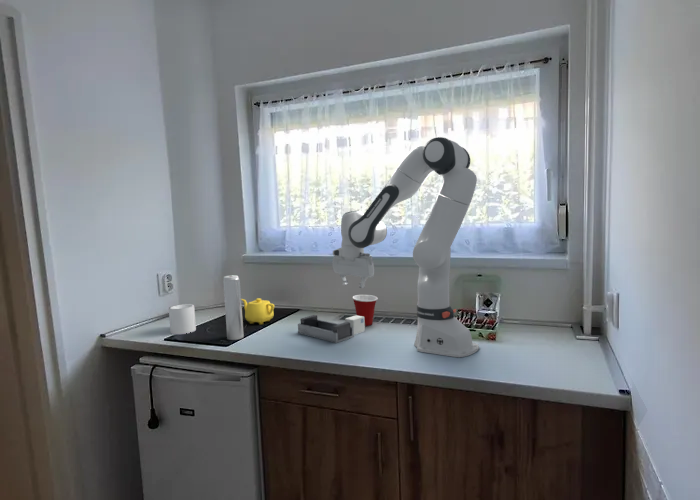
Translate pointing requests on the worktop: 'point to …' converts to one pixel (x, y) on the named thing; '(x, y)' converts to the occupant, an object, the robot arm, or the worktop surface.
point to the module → (356, 323)
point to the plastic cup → (365, 307)
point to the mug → (182, 319)
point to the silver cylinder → (233, 307)
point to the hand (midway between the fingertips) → (353, 286)
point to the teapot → (258, 311)
